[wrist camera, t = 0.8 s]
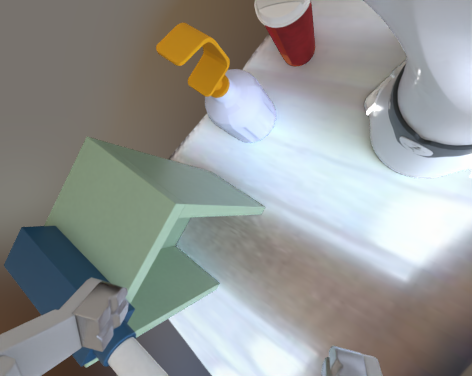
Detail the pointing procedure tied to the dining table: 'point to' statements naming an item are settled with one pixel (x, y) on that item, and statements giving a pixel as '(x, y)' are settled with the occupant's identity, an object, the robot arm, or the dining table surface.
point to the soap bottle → (221, 85)
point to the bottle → (64, 286)
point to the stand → (142, 224)
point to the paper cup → (289, 28)
